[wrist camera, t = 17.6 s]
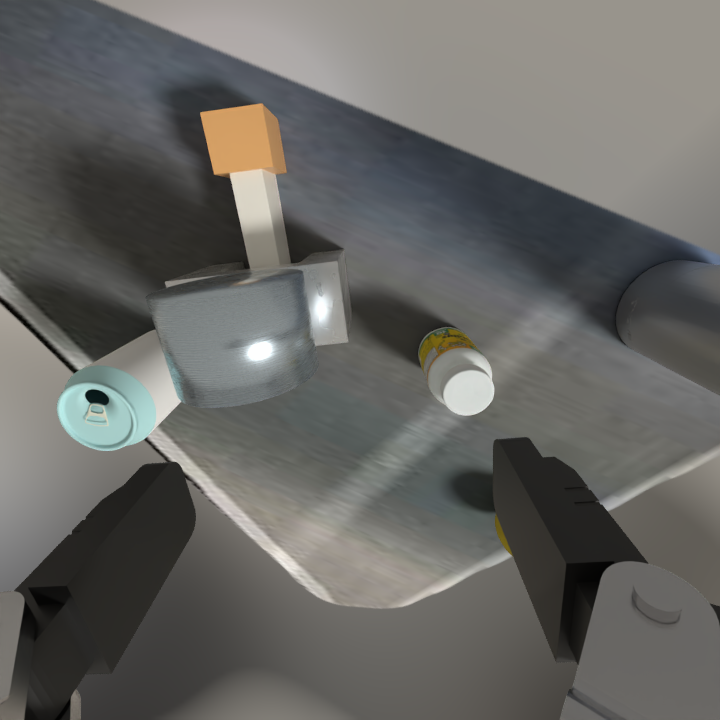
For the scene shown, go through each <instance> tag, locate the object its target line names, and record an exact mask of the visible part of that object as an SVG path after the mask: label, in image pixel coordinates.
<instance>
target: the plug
mask: <svg viewBox="0 0 720 720" xmlns="http://www.w3.org/2000/svg"><path fill="white" fill-rule="evenodd" d="M200 115H201V119H202V123H203V128H204V132H205V136H206V141H207V145H208V150H209V154H210V158H211V163H212V167H213V171H214V175H218V176H223V177H227V178H231V183H232V187H233V192H234V196H235V201H236V206H237V210H238V215H239V219H240V224H241V229H242V233H243V238H244V243H245V247H246V252H247V256H248V261H249V266H250V268H259V267H267V266H276V265H284V264H291V260H290V254H289V249H288V243H287V237H286V232H285V226H284V220H283V215H282V209H281V203H280V198H279V192H278V186H277V181H276V175H275V174H282V173H287V171H286V165H285V159H284V153H283V148H282V142H281V136H280V130H279V124H278V119H277V118H276V117H275V116H274V115H273V114H272V113H271V112H270V111H269V110H268V109H267V108H266V107H265V106H264V105H263V104H262V103H261V104H255V105H248V106H241V107H234V108H227V109H220V110H213V111H206V112H200Z"/></svg>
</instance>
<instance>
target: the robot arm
mask: <svg viewBox="0 0 720 720" xmlns="http://www.w3.org/2000/svg"><path fill="white" fill-rule="evenodd" d="M616 326H617V331H618V334H619V336H620V338H621V339H622V341H623V342H624V343H625V344H626V345H627V346H628V347H629V348H631V349H633V350H634V351H636V352H638V353H640V354H642V355H644V356H646V357H648V358H649V359H651V360H653V361H655V362H657V363H659V364H660V365H662V366H664V367H666V368H668V369H670V370H672V371H674V372H676V373H678V374H680V375H681V376H683V377H685V378H687V379H689V380H691V381H693V382H695V383H697V384H699V385H701V386H703V387H704V388H706V389H708V390H710V391H712V392H714V393H716V394H718V395H720V265H714V264H708V263H701V262H694V261H687V260H674V261H668V262H665V263H661V264H658V265H656V266H654V267H652V268H650V269H648V270H647V271H645V272H644V273H643V274H641V275H640V276H639V277H637V278H636V279H635V280H634V282H633V283H632V284H631V285H630V286H629V287H628V289H627V290H626V291H625V293H624V294H623V296H622V298H621V301H620V303H619V305H618V309H617V313H616ZM493 501H494V507H495V511H496V515H497V518H498V520H499V523H500V525H501V528H502V530H503V533H504V535H505V538H506V540H507V543H508V545H509V547H510V550H511V552H512V555H513V557H514V560H515V562H516V565H517V567H518V569H519V572H520V575H521V577H522V580H523V582H524V584H525V587H526V589H527V592H528V594H529V597H530V599H531V601H532V604H533V606H534V609H535V612H536V614H537V616H538V619H539V621H540V624H541V626H542V629H543V631H544V634H545V636H546V639H547V641H548V644H549V646H550V648H551V651H552V653H553V656H554V658H555V661H556V662H577V664H578V669H577V673H576V677H575V681H574V684H573V687H572V690H571V689H570V690H569V691H568V694H567V697H566V700H565V704H564V707H563V711H562V714H561V717H560V720H720V606H716V605H713V604H710V603H709V602H708V601H707V600H706V599H705V597H703V595H702V594H701V593H700V592H698V591H697V590H696V589H695V588H694V587H693V586H691V585H690V584H689V583H688V582H686V581H685V580H683V579H681V578H680V577H678V576H676V575H675V574H673V573H671V572H669V571H667V570H664V569H662V568H660V567H657V566H654V565H651V564H648V562H647V561H646V560H645V558H644V557H643V556H642V555H641V554H640V552H639V551H638V549H637V548H636V547H635V546H634V545H633V543H632V542H631V541H630V539H629V538H628V537H627V536H626V534H625V533H624V532H623V531H622V529H621V528H620V527H619V525H618V524H617V523H616V522H615V521H614V519H613V518H612V517H611V515H610V514H609V513H608V511H607V510H606V509H605V508H604V506H603V505H600V503H599V500H598V499H597V498H596V496H595V495H594V494H593V492H592V491H591V490H588V486H587V485H586V484H585V482H584V481H583V480H582V478H581V477H580V476H579V475H578V473H577V472H576V471H575V470H574V469H573V468H571V467H569V466H568V465H566V464H565V463H563V462H562V461H560V460H559V459H557V458H556V457H544V458H543V457H542V456H541V454H540V453H539V452H538V450H537V449H536V447H535V446H534V444H533V443H532V442H531V440H530V439H529V438H527V437H522V438H508V439H496V440H495V441H494V445H493ZM195 521H196V513H195V508H194V505H193V502H192V498H191V496H190V492H189V489H188V486H187V483H186V480H185V477H184V474H183V470H182V468H181V466H180V465H179V464H178V463H177V462H165V463H152V464H145V465H143V466H142V467H140V468H139V470H138V471H137V472H136V473H135V474H134V475H133V476H132V477H131V478H130V479H129V480H128V481H127V482H126V484H124V485H123V486H122V487H120V488H119V489H117V490H116V491H114V492H113V493H111V494H110V495H109V496H107V497H106V498H104V499H103V500H102V501H101V502H100V503H99V504H98V505H97V506H96V507H95V508H94V509H93V510H92V511H91V512H90V513H89V514H88V515H87V516H86V519H85V520H82V521H81V522H80V523H79V524H78V525H77V527H75V528H74V529H73V531H72V534H71V535H68V536H67V537H66V538H65V539H64V540H63V541H62V542H61V543H60V544H59V545H58V546H57V547H56V548H55V549H54V550H53V551H52V552H51V553H50V554H49V555H48V556H47V557H46V558H45V559H44V560H43V562H42V563H41V564H40V565H39V566H38V567H37V568H36V569H35V570H34V571H33V572H32V573H31V574H30V575H29V576H28V577H27V578H26V579H25V580H24V581H23V582H22V583H21V584H20V585H19V586H18V587H17V588H16V589H15V590H14V591H6V592H0V720H81V700H80V695H79V693H78V691H77V689H76V688H77V686H78V685H79V683H80V682H81V680H82V678H83V677H84V675H85V674H111V673H112V672H113V670H114V668H115V667H116V665H117V663H118V662H119V660H120V658H121V656H122V655H123V653H124V651H125V650H126V648H127V646H128V644H129V643H130V641H131V639H132V637H133V636H134V634H135V632H136V631H137V629H138V627H139V625H140V624H141V622H142V620H143V618H144V617H145V615H146V613H147V611H148V609H149V608H150V606H151V605H152V603H153V601H154V599H155V598H156V596H157V594H158V592H159V590H160V589H161V587H162V585H163V584H164V582H165V580H166V579H167V577H168V575H169V573H170V571H171V570H172V568H173V567H174V565H175V563H176V561H177V560H178V558H179V556H180V554H181V553H182V551H183V549H184V548H185V546H186V544H187V542H188V541H189V539H190V537H191V535H192V533H193V530H194V527H195Z"/></svg>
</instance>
